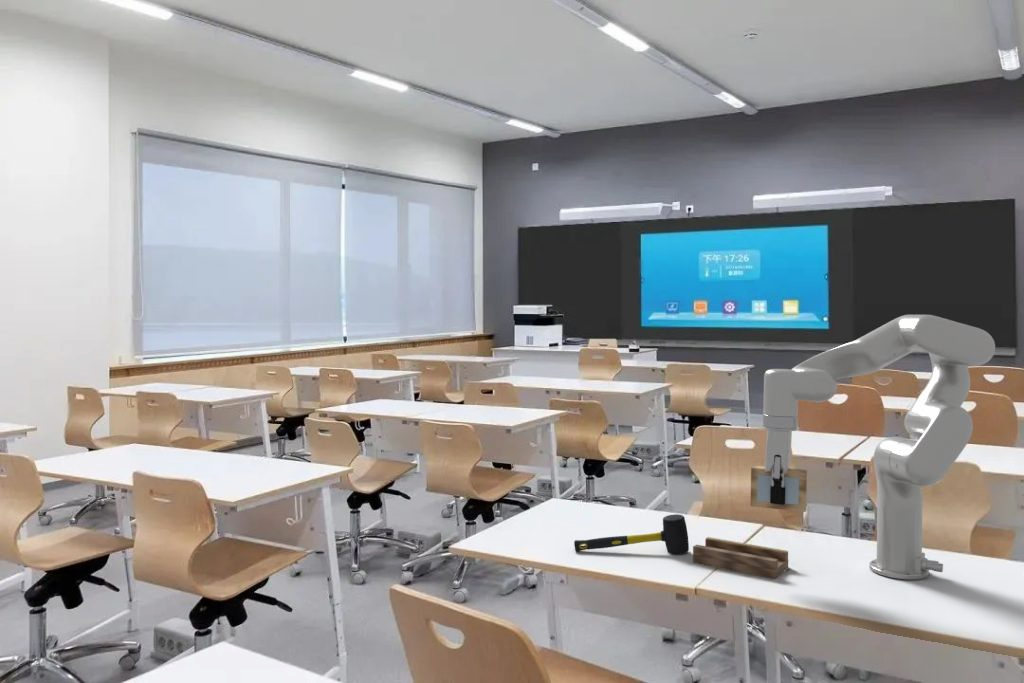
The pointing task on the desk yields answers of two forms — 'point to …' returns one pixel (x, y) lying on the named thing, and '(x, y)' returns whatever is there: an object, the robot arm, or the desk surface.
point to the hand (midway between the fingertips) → (778, 501)
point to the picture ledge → (741, 557)
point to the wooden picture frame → (792, 482)
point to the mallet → (647, 537)
